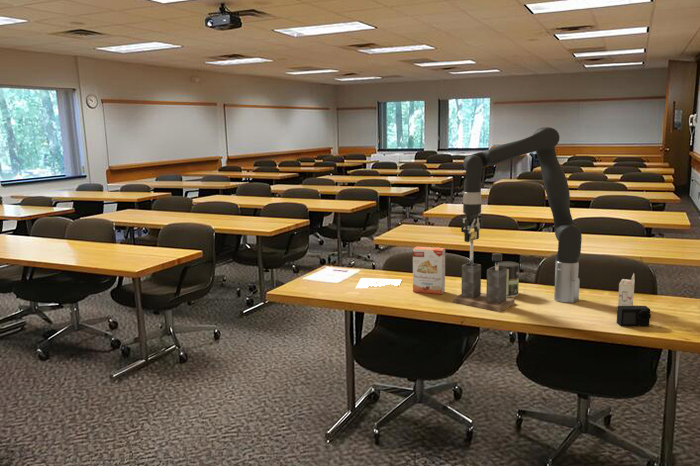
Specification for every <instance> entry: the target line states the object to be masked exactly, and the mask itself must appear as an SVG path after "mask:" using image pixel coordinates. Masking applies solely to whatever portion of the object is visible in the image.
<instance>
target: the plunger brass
mask: <svg viewBox="0 0 700 466" xmlns="http://www.w3.org/2000/svg"><path fill="white" fill-rule="evenodd" d="M475 240H478V239H477V232H475V231H474V230H471V231H470V242H469V263H470V266H471V267H473V263H474V241H475Z"/></svg>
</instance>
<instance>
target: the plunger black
mask: <svg viewBox="0 0 700 466" xmlns="http://www.w3.org/2000/svg"><path fill="white" fill-rule="evenodd" d="M491 255H492V256H491V261H492V262H493V263H494V267H495V270H497V271H499V262H503V254H502V253H500V252H494V253H492V254H491Z"/></svg>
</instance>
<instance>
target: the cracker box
mask: <svg viewBox="0 0 700 466" xmlns="http://www.w3.org/2000/svg"><path fill="white" fill-rule="evenodd" d="M445 290H446V247H432V246H431V247H429V246H418V245H417V246H415V247H414V248H412V292H414V293H424V294H431V295H432V294H433V295H443V294H444V292H445Z"/></svg>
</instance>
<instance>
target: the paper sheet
mask: <svg viewBox="0 0 700 466" xmlns="http://www.w3.org/2000/svg"><path fill="white" fill-rule="evenodd" d="M402 281H403V279H401V278H399V279H398V278H397V279H395V278H373V277H372V278H371V277H361V278H360V279H359V281H358V283H357V284H356V286H355V289H369V288H368V287H369V286H371V287H372V286H374V287H377V286H379V287H381V286H385V285H390V284H391V285H394V286H398V285H399V287H400V285H401V283H402Z"/></svg>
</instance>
